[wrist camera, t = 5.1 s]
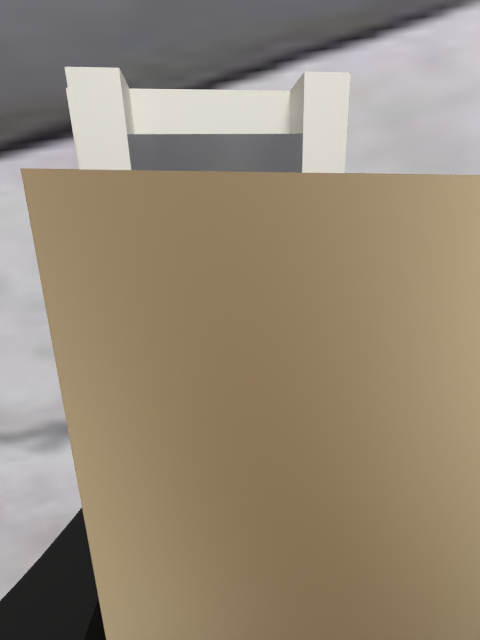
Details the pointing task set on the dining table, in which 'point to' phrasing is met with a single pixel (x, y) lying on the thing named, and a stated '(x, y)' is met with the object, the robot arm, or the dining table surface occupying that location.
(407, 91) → the dining table surface
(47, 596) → the robot arm
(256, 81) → the dining table surface
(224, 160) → the cream rectangular frame
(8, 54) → the dining table surface
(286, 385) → the beige rectangular panel
